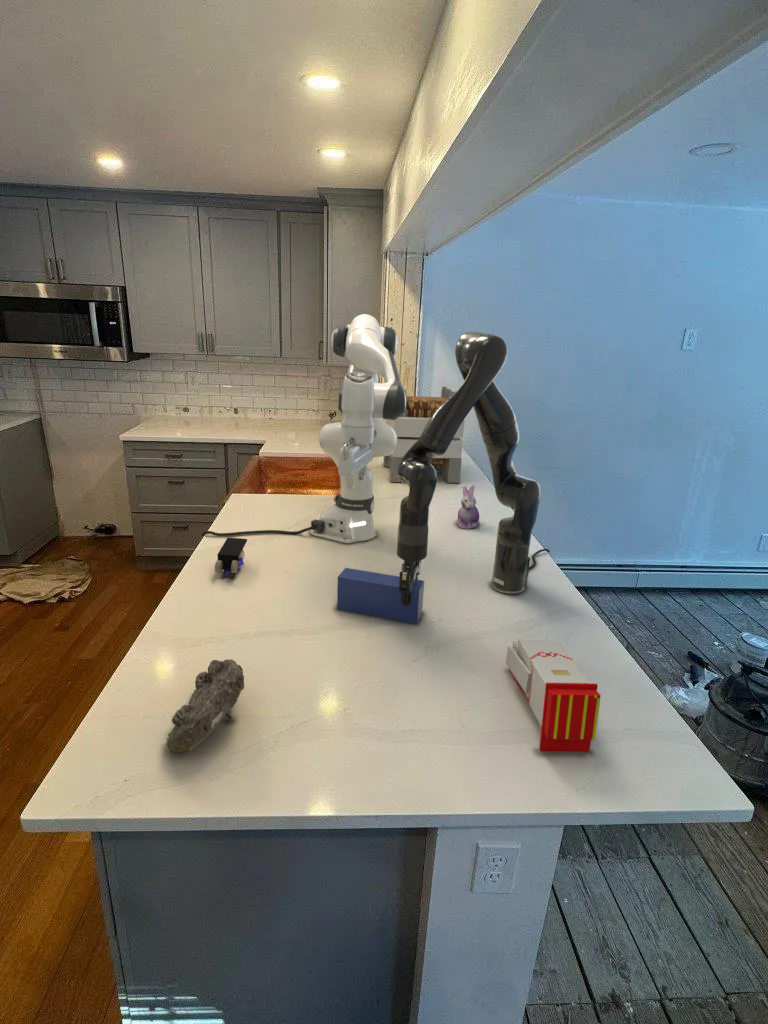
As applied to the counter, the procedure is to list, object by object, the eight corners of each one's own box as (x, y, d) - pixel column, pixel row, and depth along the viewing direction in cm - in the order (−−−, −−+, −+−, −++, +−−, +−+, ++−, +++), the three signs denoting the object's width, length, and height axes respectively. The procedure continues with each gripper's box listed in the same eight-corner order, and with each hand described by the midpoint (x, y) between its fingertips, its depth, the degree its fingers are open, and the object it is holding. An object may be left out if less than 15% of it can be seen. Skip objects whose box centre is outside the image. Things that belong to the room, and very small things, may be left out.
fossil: (192, 660, 117) (244, 628, 112) (224, 691, 120) (276, 661, 115) (142, 746, 98) (202, 712, 93) (182, 779, 101) (242, 748, 96)
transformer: (382, 463, 289) (386, 382, 275) (445, 464, 293) (451, 384, 279) (390, 482, 257) (394, 392, 243) (460, 483, 261) (468, 394, 247)
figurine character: (238, 584, 162) (249, 557, 175) (236, 562, 158) (247, 536, 172) (215, 584, 161) (227, 556, 175) (212, 561, 158) (225, 535, 171)
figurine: (465, 531, 205) (469, 491, 200) (449, 521, 213) (452, 483, 208) (486, 527, 209) (490, 488, 204) (470, 518, 217) (473, 481, 212)
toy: (554, 622, 128) (610, 691, 98) (548, 677, 130) (601, 759, 101) (501, 621, 127) (541, 690, 98) (496, 676, 130) (534, 758, 101)
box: (337, 609, 148) (337, 576, 145) (344, 598, 154) (345, 567, 151) (417, 623, 143) (419, 590, 140) (422, 612, 149) (424, 580, 145)
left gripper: (356, 444, 142) (354, 496, 147) (379, 429, 161) (377, 476, 165) (332, 441, 144) (331, 493, 148) (358, 427, 162) (356, 473, 167)
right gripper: (421, 551, 132) (416, 615, 138) (433, 530, 145) (428, 589, 151) (390, 546, 134) (387, 609, 139) (404, 526, 147) (401, 584, 153)
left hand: (356, 484), depth 157 cm, fingers open, 8 cm apart
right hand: (408, 598), depth 145 cm, fingers closed on box, 6 cm apart
